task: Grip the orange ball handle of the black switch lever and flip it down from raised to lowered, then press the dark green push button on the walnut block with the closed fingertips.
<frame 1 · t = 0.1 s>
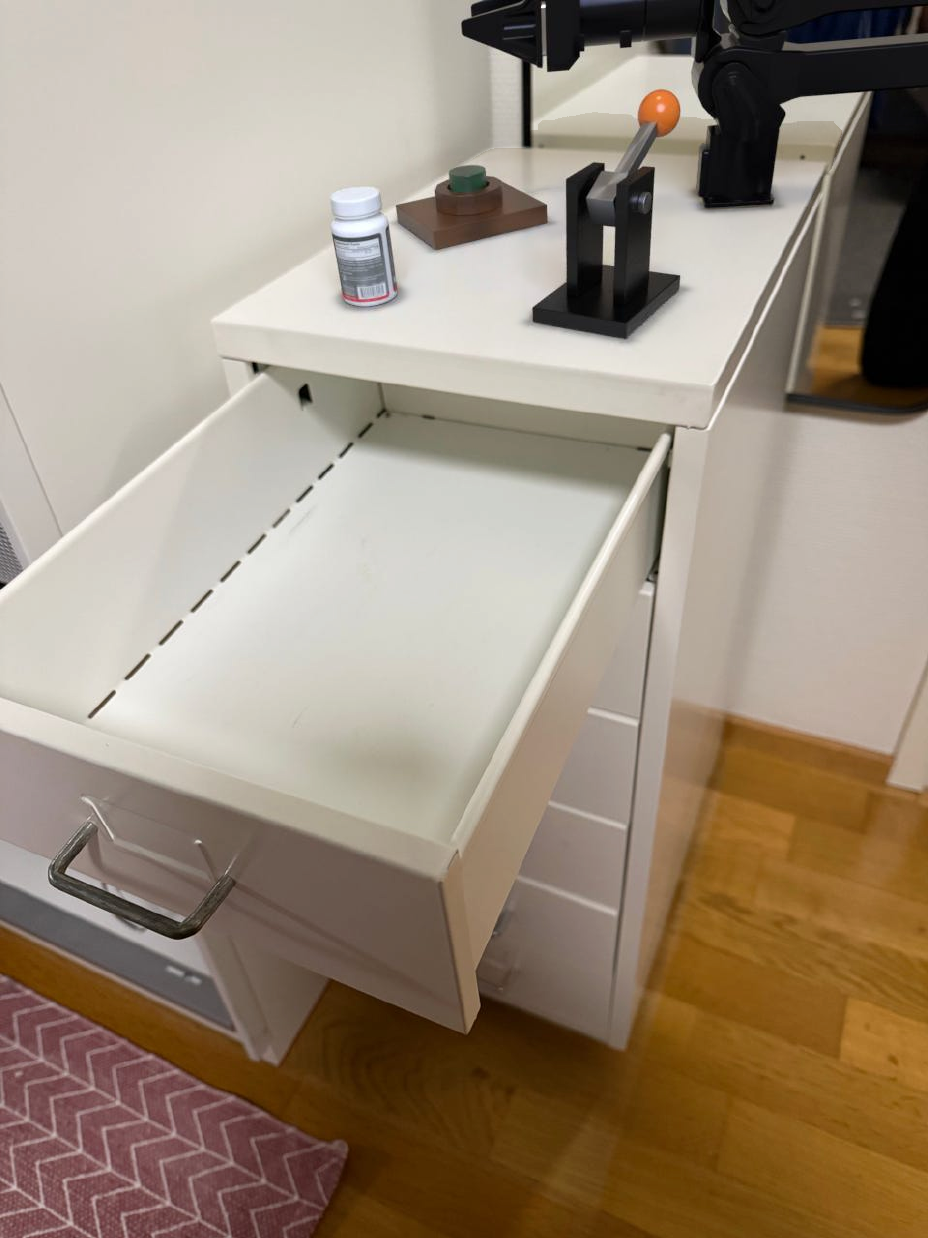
hand: (466, 19, 79), 17 cm above the table, tool horizontal, fingers open, 9 cm apart
switch bracket: (607, 305, 70), on the table
switch lever: (635, 154, 66), point 10 cm above the table, hinge at 25.0°
start button: (467, 179, 85), point 4 cm above the table, slide at 0.1 cm
pill bottle: (371, 298, 76), on the table
button block: (471, 222, 88), on the table
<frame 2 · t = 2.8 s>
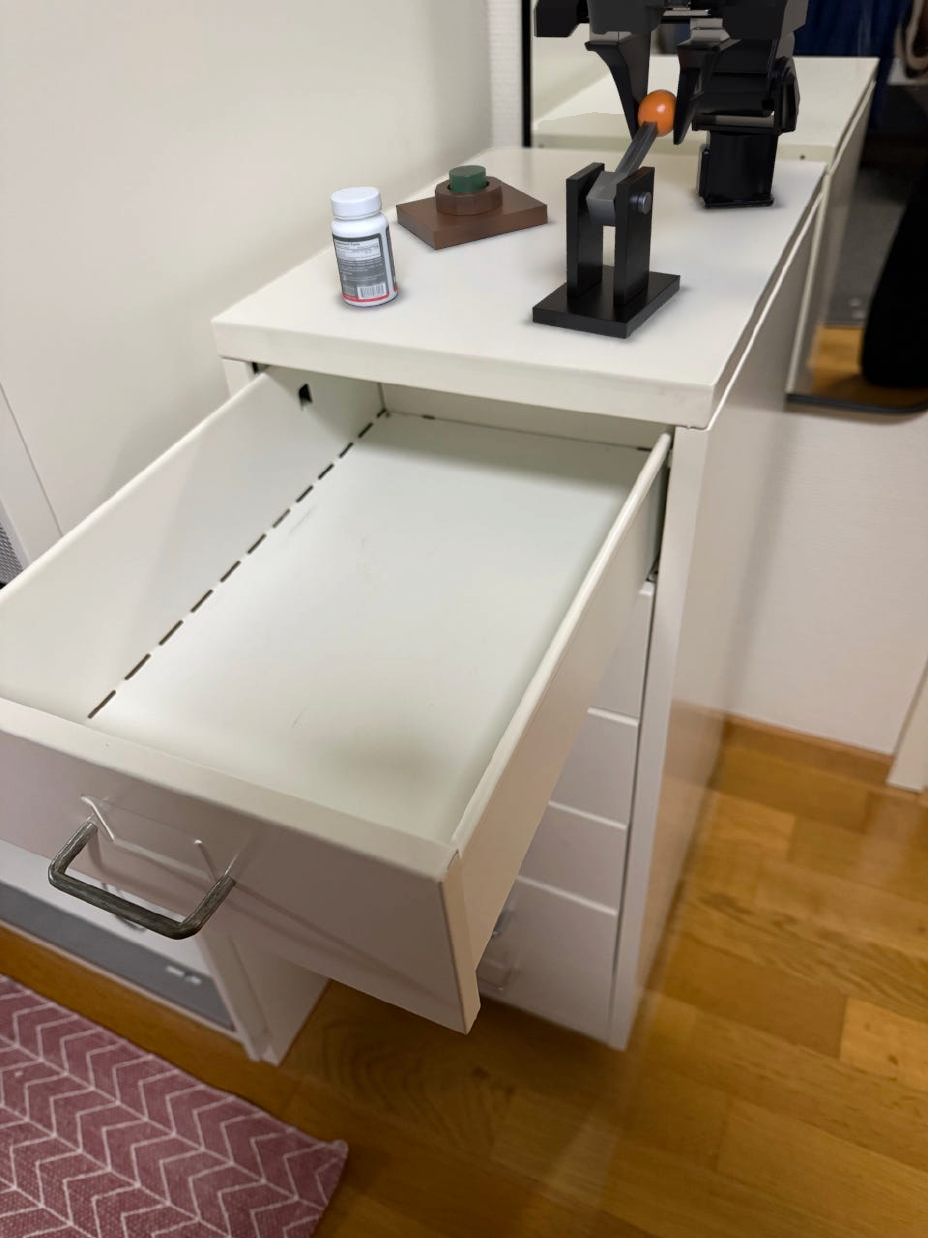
hand: (657, 142, 68), 10 cm above the table, tool pointing down, fingers closed on switch lever, 3 cm apart
switch lever: (635, 154, 66), point 10 cm above the table, hinge at 25.0°, touching gripper
everything else where it was.
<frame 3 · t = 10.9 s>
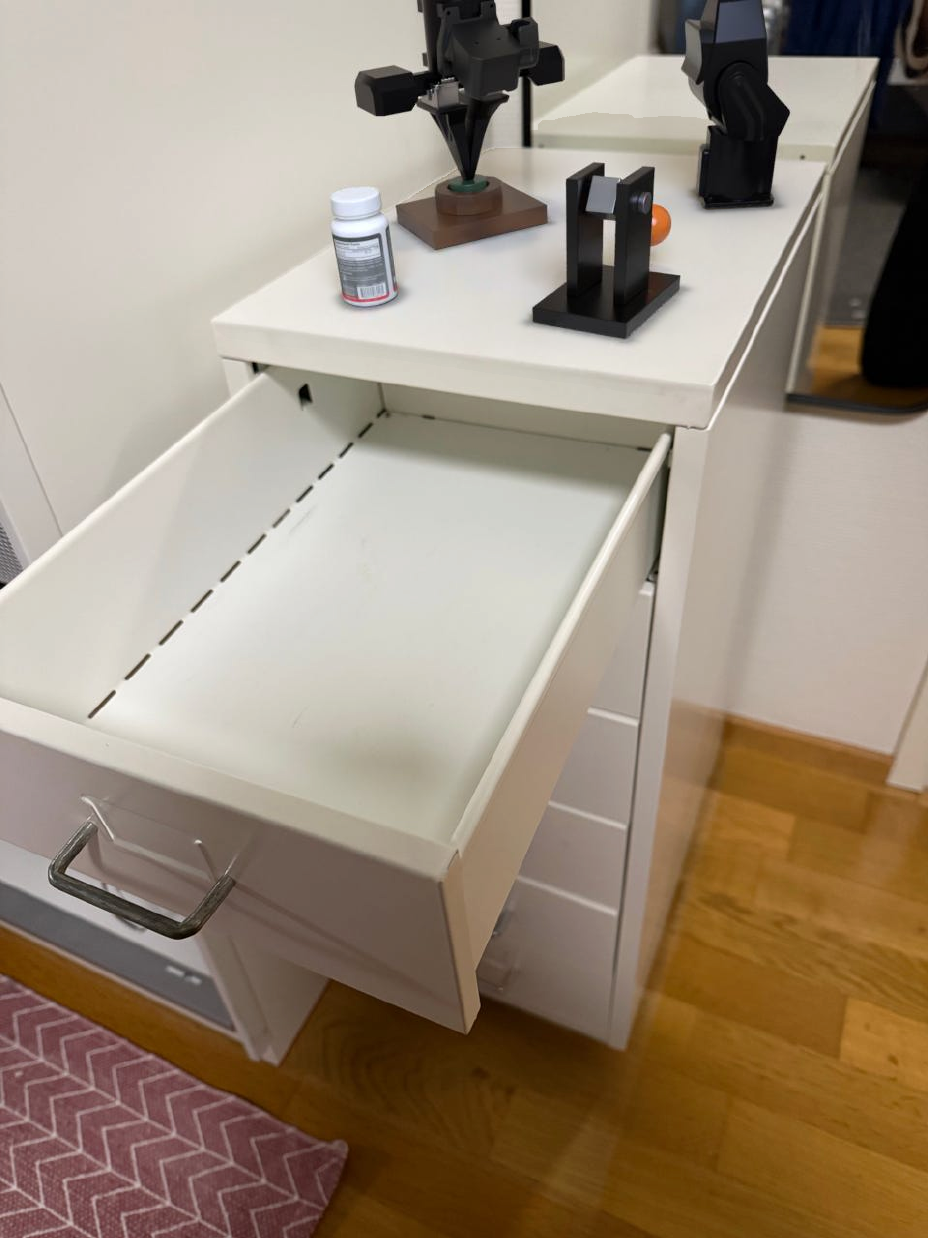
hand: (468, 179, 85), 4 cm above the table, tool pointing down, fingers closed, pressing on start button
switch lever: (632, 213, 68), point 6 cm above the table, hinge at -28.6°
start button: (468, 188, 86), point 3 cm above the table, slide at -0.7 cm, touching gripper
everything else where it was.
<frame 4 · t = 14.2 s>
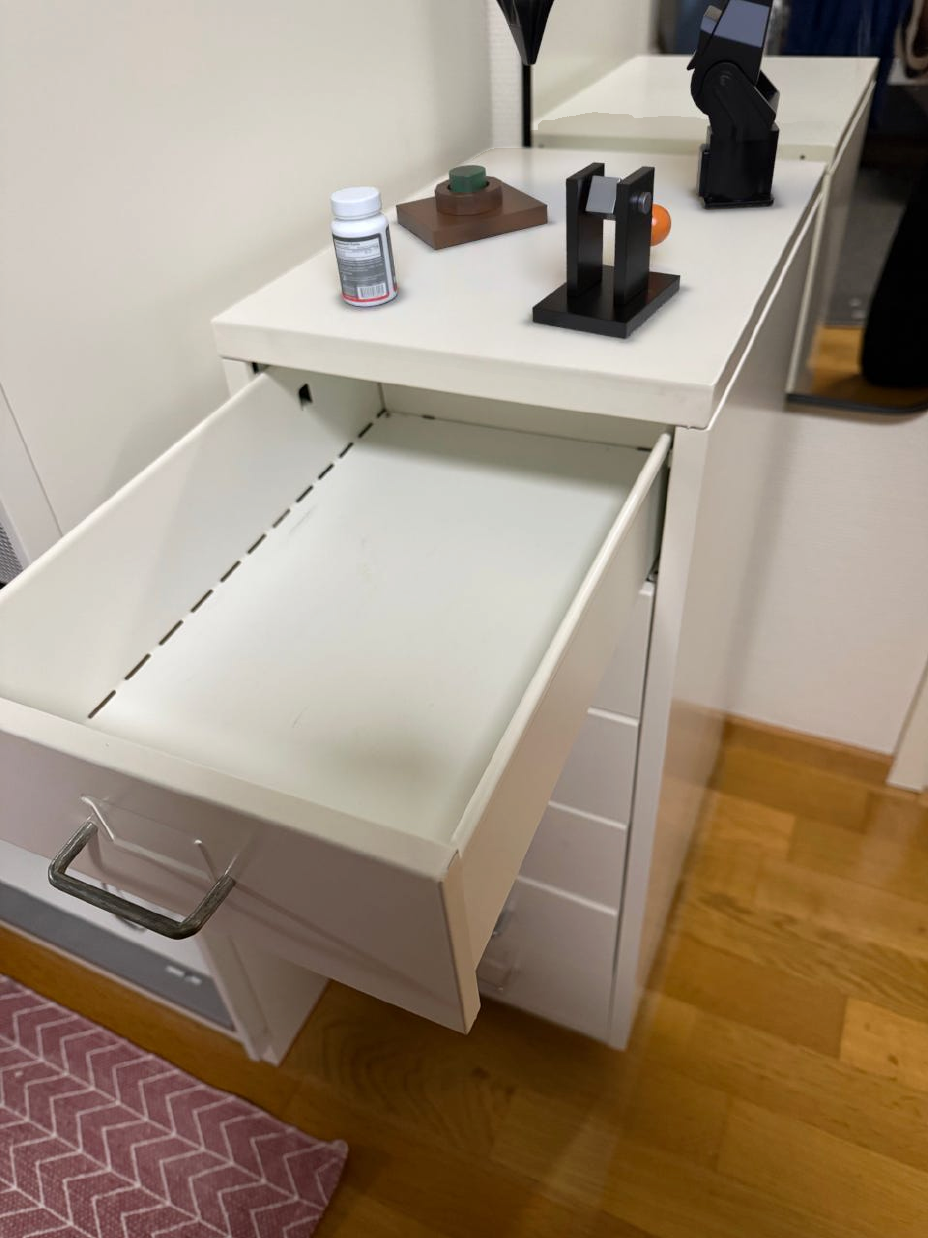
hand: (529, 64, 84), 12 cm above the table, tool pointing down, fingers closed
start button: (467, 179, 85), point 4 cm above the table, slide at 0.1 cm
everything else where it was.
at the end: switch lever at -29° (first picture: +25°); start button pushed in 1.1 cm at the most during the clip, back to where it started at the end; start button slide at 0.1 cm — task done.
